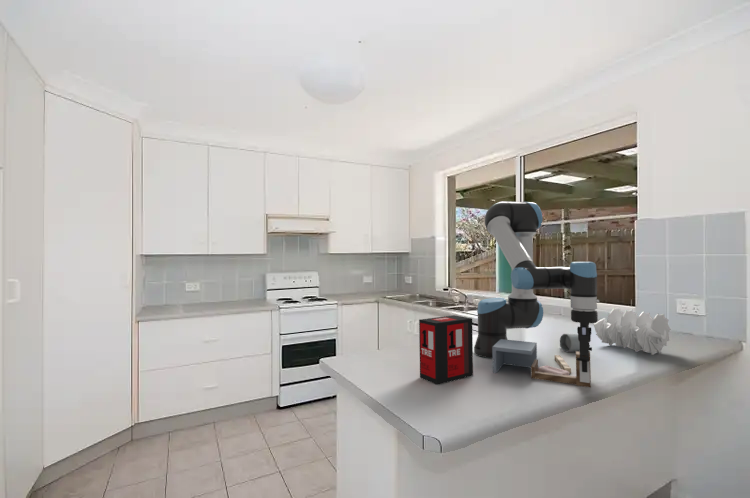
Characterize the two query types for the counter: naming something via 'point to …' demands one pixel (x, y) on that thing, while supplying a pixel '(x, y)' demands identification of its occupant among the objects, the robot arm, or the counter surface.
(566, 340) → the ceramic mug
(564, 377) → the brown wooden bent piece
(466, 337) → the cleaning product box
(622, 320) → the spiral staircase
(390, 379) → the counter surface
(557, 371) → the soap bar
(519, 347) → the grey storage bin
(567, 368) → the stick
